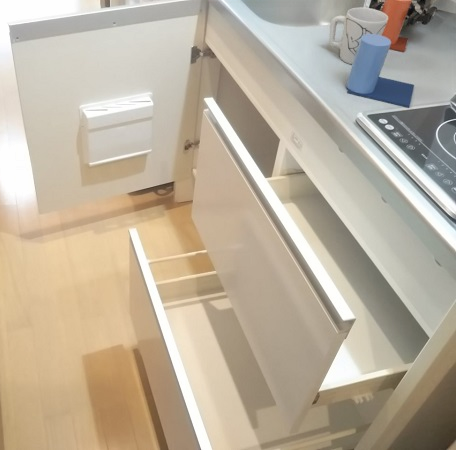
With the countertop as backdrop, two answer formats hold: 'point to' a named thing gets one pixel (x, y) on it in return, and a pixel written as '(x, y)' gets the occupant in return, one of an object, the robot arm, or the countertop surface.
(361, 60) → the light blue cylinder
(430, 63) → the countertop surface
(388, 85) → the blue mat
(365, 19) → the mug
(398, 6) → the tall orange cylinder
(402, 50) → the terracotta mat
